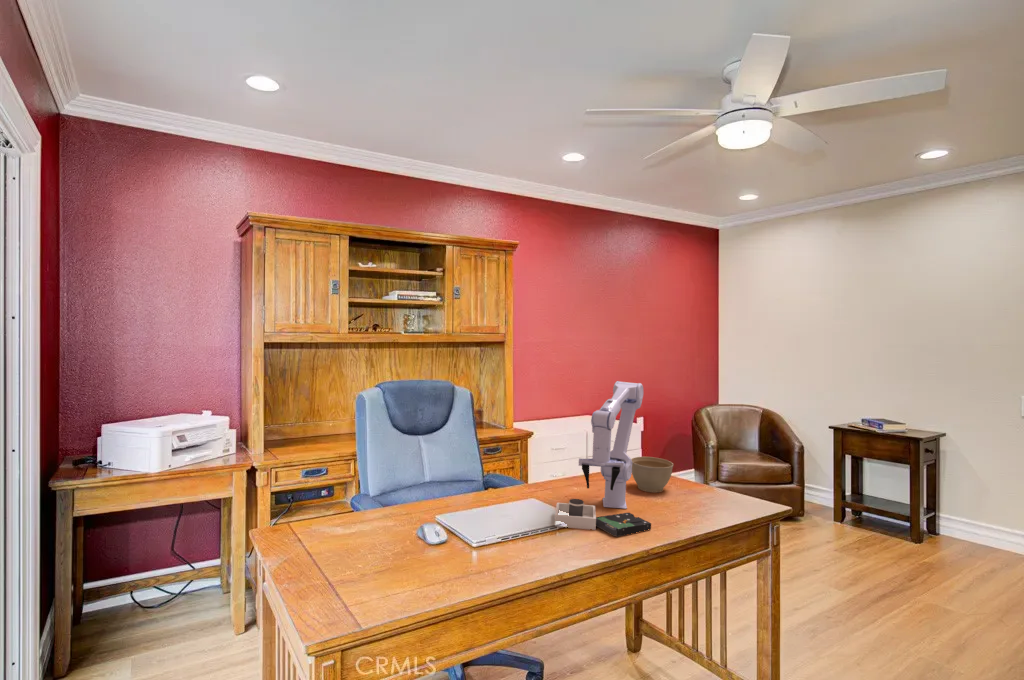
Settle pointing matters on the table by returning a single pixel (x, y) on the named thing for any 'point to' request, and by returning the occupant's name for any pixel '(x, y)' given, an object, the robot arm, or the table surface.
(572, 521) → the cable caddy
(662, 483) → the planter bowl
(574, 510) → the dark grey spool
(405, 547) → the table surface
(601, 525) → the disk drive
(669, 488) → the table surface
